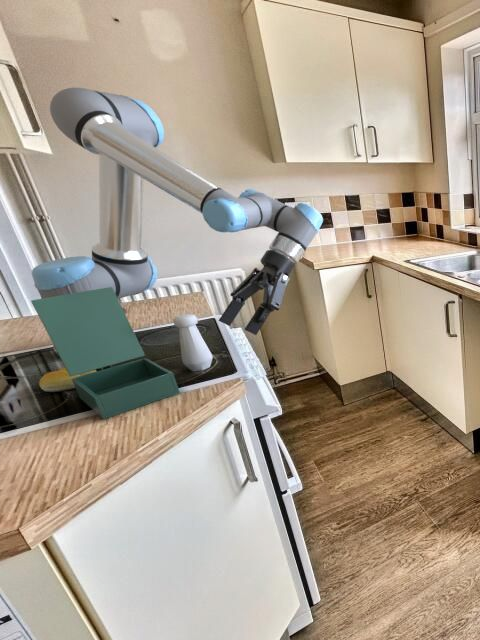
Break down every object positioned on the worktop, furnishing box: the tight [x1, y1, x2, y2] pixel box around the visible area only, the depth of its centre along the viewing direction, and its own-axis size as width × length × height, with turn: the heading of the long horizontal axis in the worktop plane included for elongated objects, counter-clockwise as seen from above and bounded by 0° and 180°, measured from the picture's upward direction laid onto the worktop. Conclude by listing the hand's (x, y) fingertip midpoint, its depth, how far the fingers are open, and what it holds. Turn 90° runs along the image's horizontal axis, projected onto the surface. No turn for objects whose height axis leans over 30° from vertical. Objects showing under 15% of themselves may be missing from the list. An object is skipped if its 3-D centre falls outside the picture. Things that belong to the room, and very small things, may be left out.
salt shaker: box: [172, 313, 214, 372], centre depth 97 cm, size 6×6×13 cm
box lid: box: [30, 287, 146, 377], centre depth 88 cm, size 16×12×1 cm
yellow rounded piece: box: [38, 365, 98, 393], centre depth 92 cm, size 8×9×4 cm
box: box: [72, 357, 181, 420], centre depth 86 cm, size 15×12×5 cm
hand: (236, 327), depth 104 cm, fingers open, 13 cm apart
